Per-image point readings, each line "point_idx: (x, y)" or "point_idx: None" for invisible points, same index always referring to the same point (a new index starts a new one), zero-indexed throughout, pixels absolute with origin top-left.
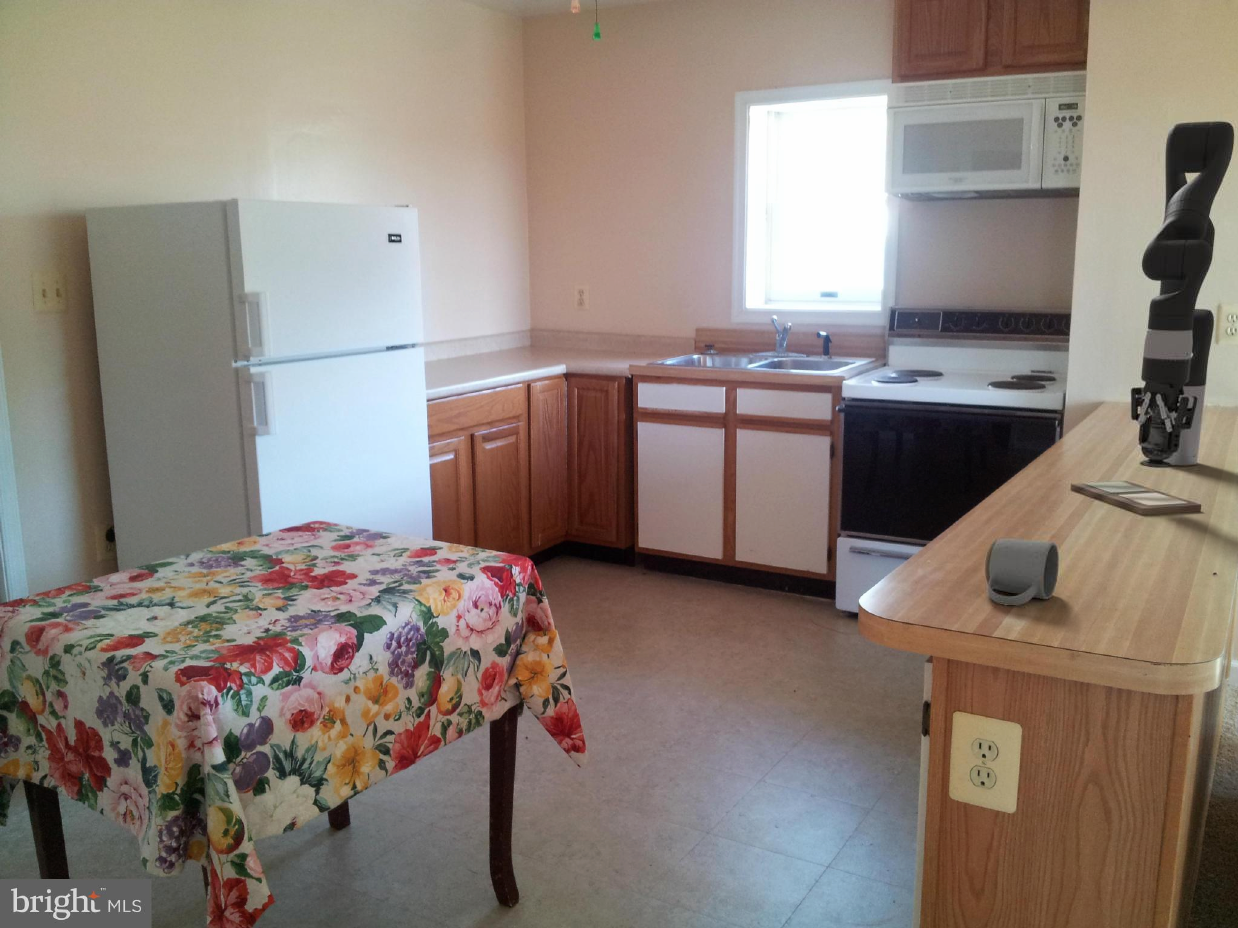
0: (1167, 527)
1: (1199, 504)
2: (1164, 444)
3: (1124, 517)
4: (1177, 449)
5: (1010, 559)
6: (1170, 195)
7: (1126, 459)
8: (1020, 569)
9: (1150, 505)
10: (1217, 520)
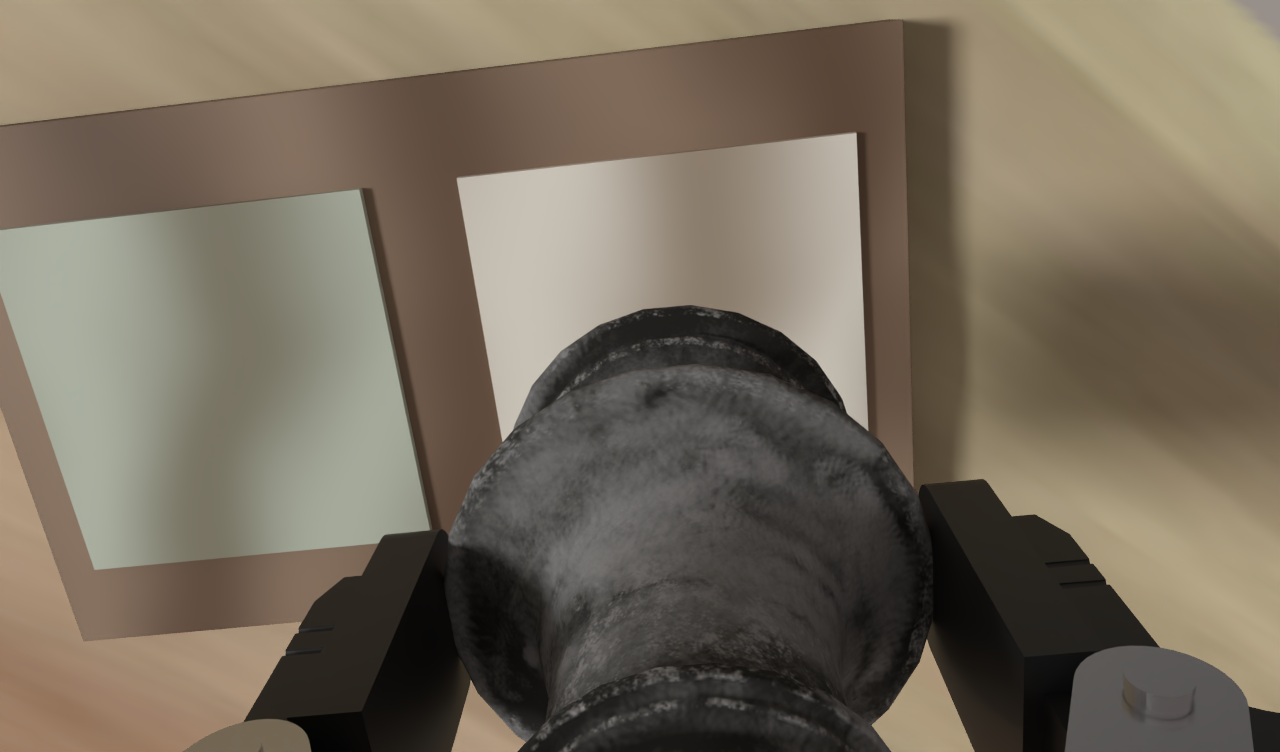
0: (1234, 560)
1: (896, 36)
2: (865, 638)
3: (930, 672)
4: (1036, 522)
5: None
6: None
7: None
8: None
9: None
10: (1186, 81)
